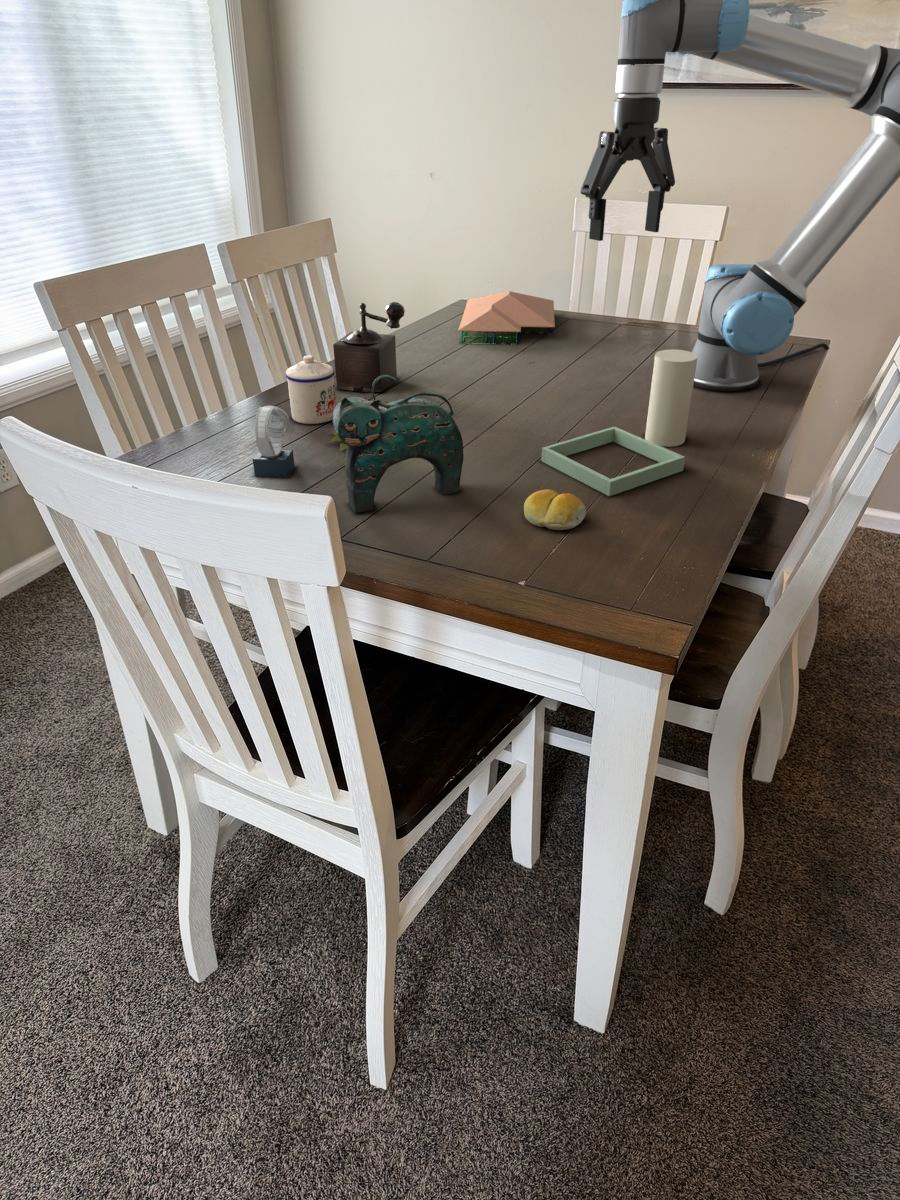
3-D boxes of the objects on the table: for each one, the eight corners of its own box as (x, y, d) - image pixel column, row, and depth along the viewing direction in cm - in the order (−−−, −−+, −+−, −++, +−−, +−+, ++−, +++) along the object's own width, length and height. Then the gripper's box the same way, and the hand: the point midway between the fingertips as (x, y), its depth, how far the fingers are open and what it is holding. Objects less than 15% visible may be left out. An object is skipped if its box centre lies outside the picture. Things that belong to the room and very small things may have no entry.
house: (552, 310, 224) (554, 279, 220) (554, 345, 197) (556, 310, 193) (468, 309, 226) (468, 278, 222) (458, 344, 199) (458, 309, 195)
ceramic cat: (347, 519, 124) (335, 388, 113) (334, 502, 129) (322, 375, 118) (468, 494, 130) (468, 369, 119) (451, 479, 135) (450, 356, 124)
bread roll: (538, 501, 128) (539, 477, 126) (591, 515, 124) (593, 490, 122) (512, 522, 122) (513, 497, 120) (567, 537, 118) (568, 512, 116)
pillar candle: (664, 428, 152) (675, 347, 144) (693, 440, 147) (706, 356, 139) (636, 437, 149) (646, 354, 141) (665, 449, 144) (677, 364, 136)
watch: (298, 462, 141) (290, 400, 135) (284, 482, 135) (275, 417, 129) (266, 461, 142) (257, 398, 136) (251, 481, 135) (240, 416, 129)
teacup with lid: (324, 427, 155) (318, 365, 148) (282, 422, 157) (274, 361, 151) (352, 406, 164) (348, 347, 158) (312, 401, 167) (306, 343, 160)
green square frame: (613, 439, 148) (614, 426, 147) (683, 470, 137) (685, 456, 135) (541, 461, 140) (541, 447, 139) (609, 496, 129) (610, 481, 128)
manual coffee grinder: (333, 390, 172) (325, 301, 162) (353, 374, 181) (346, 288, 171) (404, 396, 168) (400, 305, 158) (420, 379, 177) (418, 292, 167)
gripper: (673, 93, 144) (658, 225, 156) (564, 98, 133) (557, 240, 144) (707, 94, 139) (688, 230, 151) (596, 99, 128) (586, 246, 139)
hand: (624, 235), depth 148 cm, fingers open, 13 cm apart
